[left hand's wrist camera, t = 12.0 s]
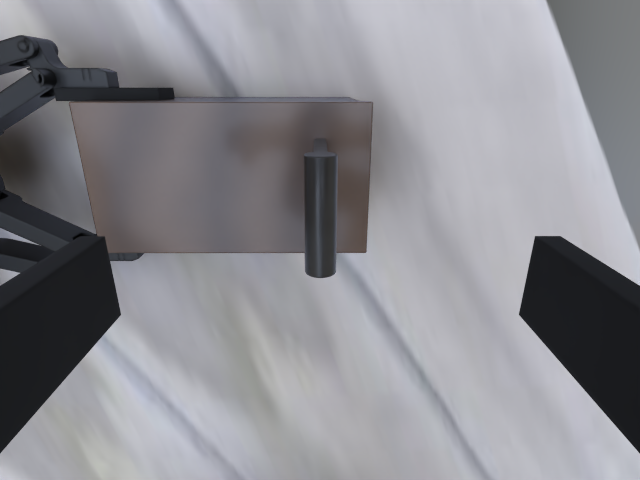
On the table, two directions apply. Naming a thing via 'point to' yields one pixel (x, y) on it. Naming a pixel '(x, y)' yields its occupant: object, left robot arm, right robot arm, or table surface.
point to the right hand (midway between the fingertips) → (176, 170)
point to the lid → (229, 176)
